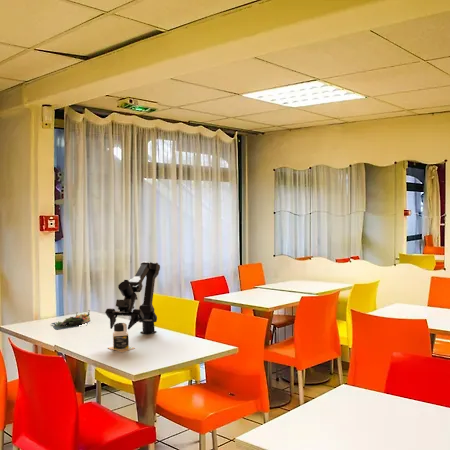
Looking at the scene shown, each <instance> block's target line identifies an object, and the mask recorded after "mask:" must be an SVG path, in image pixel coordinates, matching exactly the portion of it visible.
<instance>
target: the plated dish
mask: <svg viewBox="0 0 450 450" xmlns="http://www.w3.org/2000/svg"><path fill="white" fill-rule="evenodd" d="M75 314H76V315H75V316H70V317H68V318H65V319H64V320H63V321H60V320H59V321H58V322H51V323H50V327H53V330H56V331H61V330H66V329H72V328H79V325H82V324H85V323H87V324H88V323H90V322H91V318H90V311H88V312H87V313H85V312H84V313H83V314H82V313H81V314H78V312H76V313H75Z"/></svg>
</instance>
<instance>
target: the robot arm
mask: <svg viewBox="0 0 450 450" xmlns="http://www.w3.org/2000/svg"><path fill="white" fill-rule="evenodd" d="M160 270H161V265H160V263H158V262H151V261H142V262H140V266H139V267H138V270H137V271H136V273H135V274H134V276H133V277H131V278H130V279H124V280H123V281H121V282H120V283H119V284H118V285H117V287H118V290H119V292H120V293H121V295H122V297H124V298H123V299H116V302H115V307H117V310H118V311H117V310H116V309H115V308H108V307H107V308H106V310H105V312H104V313H105V315H106V316H107V318H108V319H109V327H110V329H111V330H112V329H114V325H115V324H116V322H117V319H118V316H122V317H123V316H124V317H130V320H129V323H128V325H127V331H129V330H130V329H131V328H133V326H134V325H136V324H137V323H142V331H140V332H139V333H140V334H144V335H151V334H154V333H157V330H155V323H156V322H157V320H158V316H157V315H156V312H155V308H154V305H153V300H154V291H155V290H154V289H155V282H156V278H157V277H158V276H159V273H160ZM145 278H146V279H145ZM144 279H145V287H144V286H143V282H144ZM143 287H144V288H145V289H144V295H143V296H144V297H143V303H142V304H141V305H139V308H135V306H134V305H135V302H136V300H137V301H138V295H137V293H140V292H141V291H142V289H143Z"/></svg>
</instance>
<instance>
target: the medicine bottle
mask: <svg viewBox="0 0 450 450" xmlns="http://www.w3.org/2000/svg"><path fill="white" fill-rule="evenodd" d="M129 337H130V336H129V332H128V325H127V324H126V322H125V323H124V322H117V323H115V324H114V326H113V332H112V342H113V343H112V347H113V348H114V350H113V351H116V350H122V349H129V347H130V346H129V343H130V342H129Z"/></svg>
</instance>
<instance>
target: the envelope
mask: <svg viewBox="0 0 450 450" xmlns="http://www.w3.org/2000/svg"><path fill="white" fill-rule="evenodd" d="M107 348H108V349H109V350H113V351H115V352H120V353H123V352H127V351H130V350H134V349H136V348H135V347H132V346H129V349H122V350H114V348H113V346H110V347H107Z"/></svg>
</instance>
